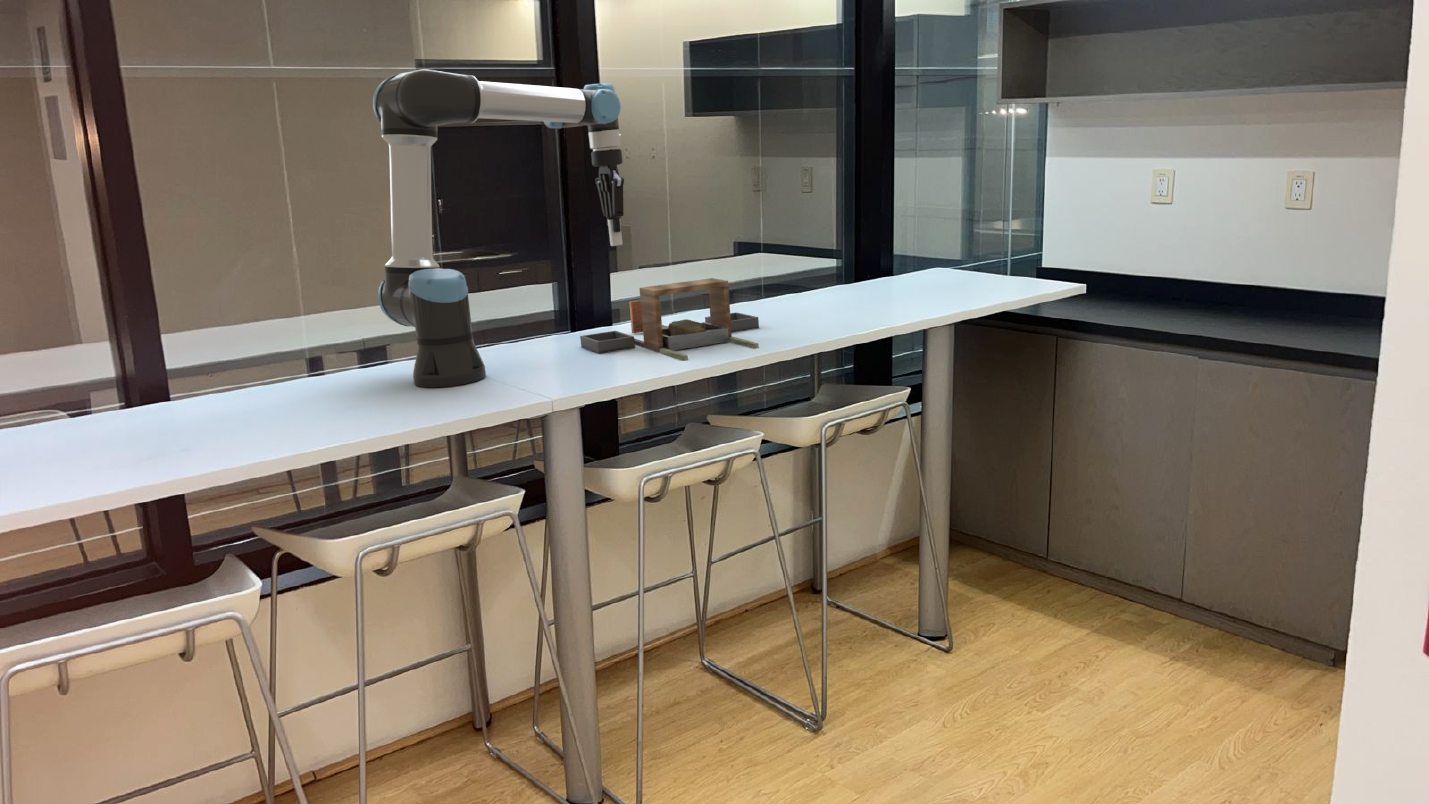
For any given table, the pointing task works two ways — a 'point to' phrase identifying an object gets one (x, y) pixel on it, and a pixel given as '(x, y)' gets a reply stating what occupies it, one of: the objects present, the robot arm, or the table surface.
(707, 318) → the pit tray far
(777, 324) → the table surface
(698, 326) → the stone block
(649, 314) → the tunnel
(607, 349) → the tray
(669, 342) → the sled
